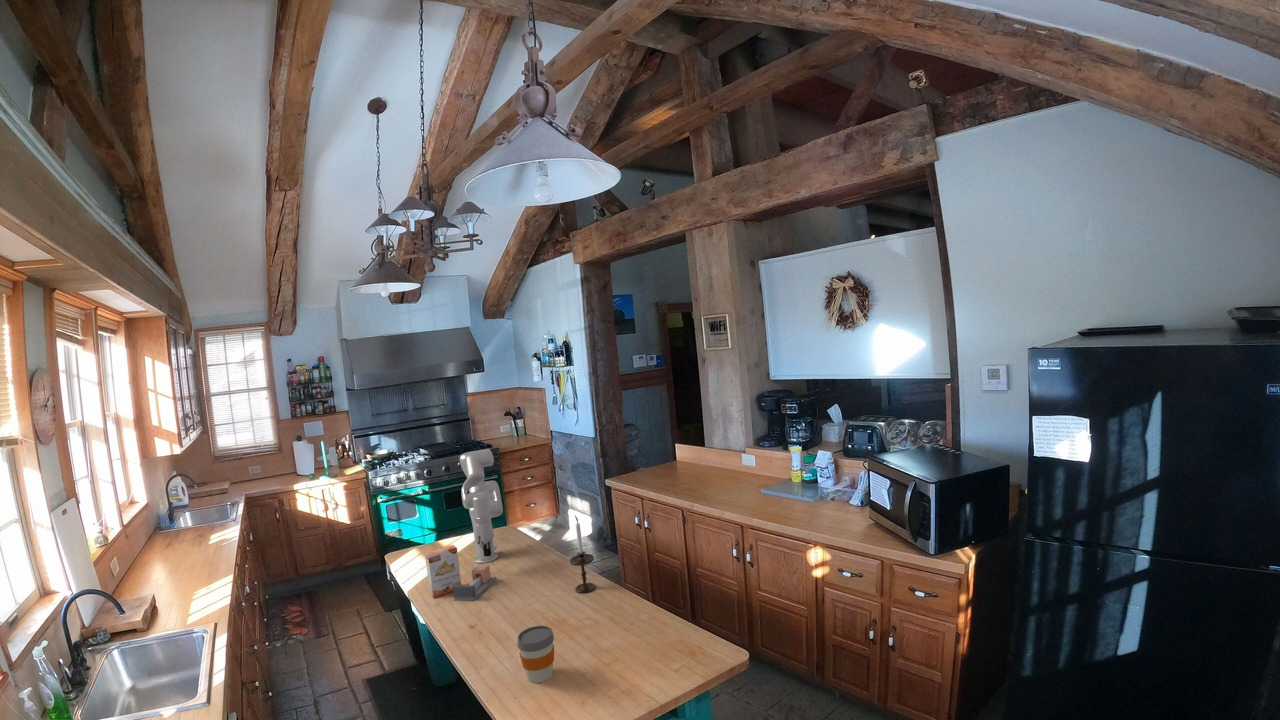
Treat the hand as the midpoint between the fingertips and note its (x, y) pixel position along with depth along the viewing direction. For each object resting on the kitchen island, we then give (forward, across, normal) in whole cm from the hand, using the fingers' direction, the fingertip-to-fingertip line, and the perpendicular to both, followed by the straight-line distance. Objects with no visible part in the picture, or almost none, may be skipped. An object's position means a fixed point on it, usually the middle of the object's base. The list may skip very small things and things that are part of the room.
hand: (487, 555), depth 304 cm
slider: (+10, +7, -1) cm, 12 cm away
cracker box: (+12, +15, -16) cm, 25 cm away
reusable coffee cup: (+15, +78, +61) cm, 100 cm away
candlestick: (+13, +11, +54) cm, 57 cm away
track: (+12, +13, -1) cm, 18 cm away
